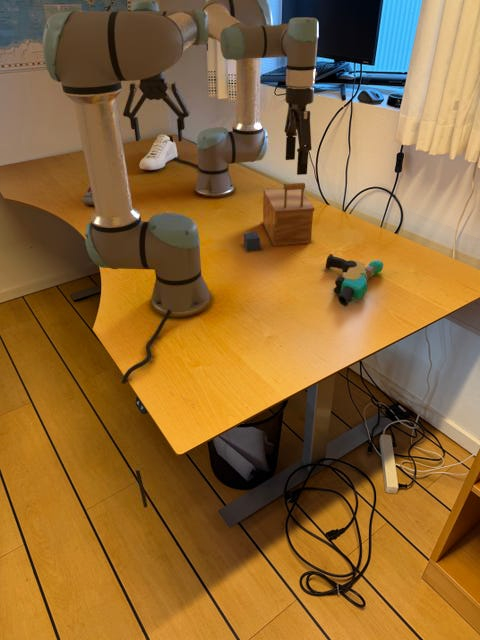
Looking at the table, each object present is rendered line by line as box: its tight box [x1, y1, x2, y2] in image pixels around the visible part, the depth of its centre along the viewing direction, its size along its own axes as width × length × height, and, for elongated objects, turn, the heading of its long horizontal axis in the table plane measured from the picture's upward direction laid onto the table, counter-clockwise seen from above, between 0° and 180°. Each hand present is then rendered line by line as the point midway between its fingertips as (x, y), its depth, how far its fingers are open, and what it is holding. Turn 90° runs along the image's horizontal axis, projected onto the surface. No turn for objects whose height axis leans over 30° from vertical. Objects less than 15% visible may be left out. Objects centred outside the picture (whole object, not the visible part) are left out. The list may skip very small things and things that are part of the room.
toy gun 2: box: [325, 253, 385, 307], centre depth 130 cm, size 4×26×15 cm
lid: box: [263, 182, 315, 214], centre depth 149 cm, size 18×12×8 cm, turn 9°
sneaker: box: [139, 133, 179, 171], centre depth 214 cm, size 10×29×12 cm, turn 163°
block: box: [243, 231, 261, 252], centre depth 149 cm, size 4×4×4 cm
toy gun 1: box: [81, 186, 94, 206], centre depth 181 cm, size 4×19×15 cm
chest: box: [262, 192, 314, 247], centre depth 156 cm, size 18×12×11 cm
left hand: (159, 140), depth 150 cm, fingers open, 13 cm apart
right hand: (295, 166), depth 138 cm, fingers open, 13 cm apart
